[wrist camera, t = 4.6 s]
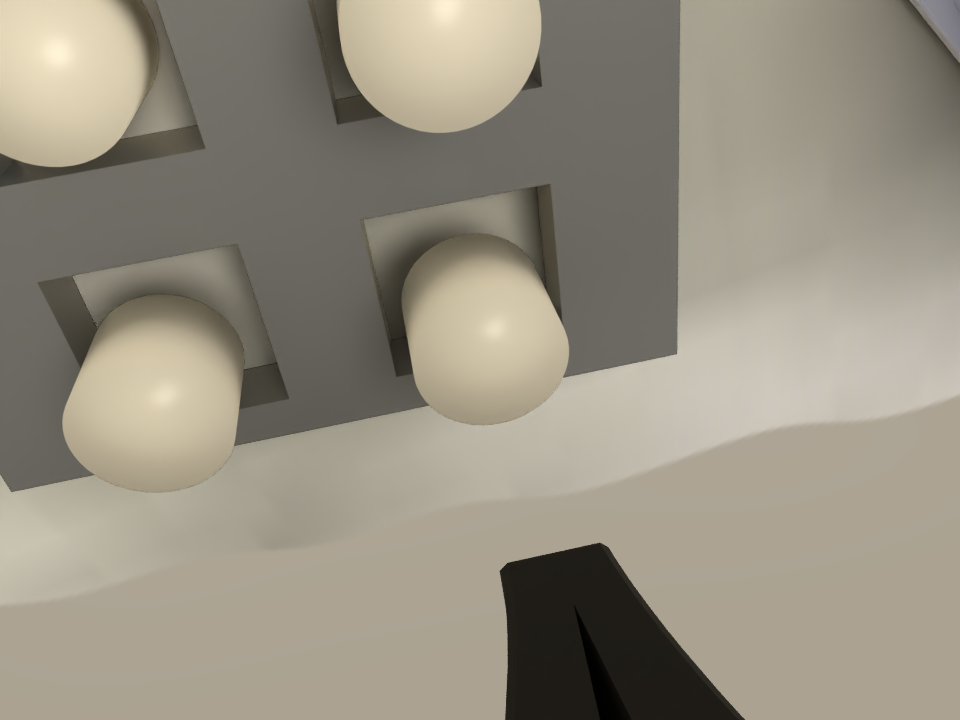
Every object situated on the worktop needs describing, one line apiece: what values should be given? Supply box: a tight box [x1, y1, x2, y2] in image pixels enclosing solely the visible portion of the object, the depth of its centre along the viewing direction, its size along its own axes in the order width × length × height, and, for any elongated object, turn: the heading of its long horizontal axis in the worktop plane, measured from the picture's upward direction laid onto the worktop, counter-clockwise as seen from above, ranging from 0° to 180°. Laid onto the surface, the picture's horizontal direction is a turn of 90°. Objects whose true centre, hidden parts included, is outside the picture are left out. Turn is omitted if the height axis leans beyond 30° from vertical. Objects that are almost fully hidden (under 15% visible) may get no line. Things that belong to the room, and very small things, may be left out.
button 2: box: [0, 0, 158, 167], centre depth 14 cm, size 3×3×2 cm
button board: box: [0, 0, 680, 492], centre depth 17 cm, size 16×12×2 cm
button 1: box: [62, 295, 245, 492], centre depth 16 cm, size 3×3×2 cm
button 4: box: [336, 0, 541, 133], centre depth 13 cm, size 3×3×2 cm
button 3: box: [402, 234, 569, 425], centre depth 17 cm, size 3×3×2 cm
